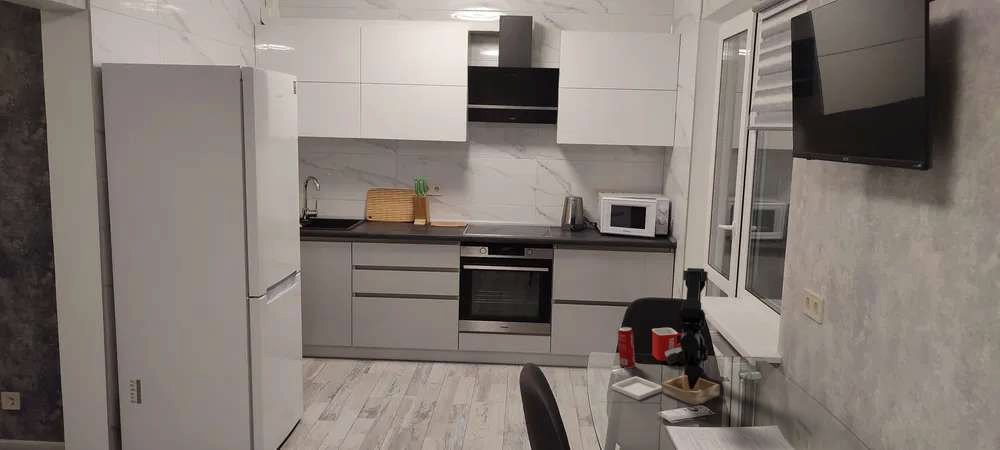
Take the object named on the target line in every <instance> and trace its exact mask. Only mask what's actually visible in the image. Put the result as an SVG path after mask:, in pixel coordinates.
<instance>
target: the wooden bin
mask: <svg viewBox="0 0 1000 450" xmlns="http://www.w3.org/2000/svg"><path fill="white" fill-rule="evenodd" d="M720 386H721V385H720V383H719V384H718V383H716V382H712V381H709V380H707V379H704V378H701V377H699V391H684V390H683V387H682V375H680V376H676V377H674V378H672V379H669V380H666V381H663V382H662V383H661V392H660V393H661V394H664V395H666V396H669V397H671V398H674V399H676V400H679V401H681V402H684V403H686V404H690V405H692V406H696V405H698V404H701V405H703V404H704V403H707V402H709V401H711V400H713V399H712V398H714V397H716V398H718V397H720V388H721V387H720ZM717 396H718V397H717ZM710 399H711V400H710ZM714 399H715V398H714ZM708 400H709V401H708ZM706 401H707V402H706Z"/></svg>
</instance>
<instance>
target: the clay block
mask: <svg viewBox="0 0 1000 450" xmlns="http://www.w3.org/2000/svg"><path fill="white" fill-rule="evenodd" d="M681 372H682V373H681V376H682V387H683V390H684V391H699V379H698V381H697V383H696V384H695V386H694V388H693V389H690V388H689V382H688V377H687V376H686V375H684V372H683V370H681Z"/></svg>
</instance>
